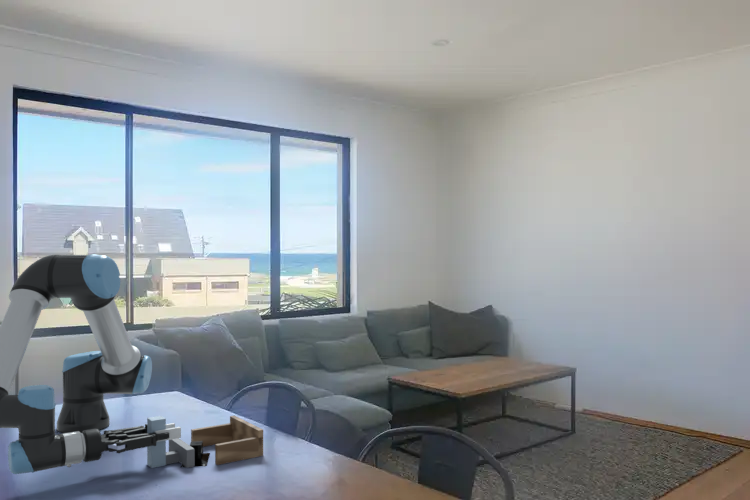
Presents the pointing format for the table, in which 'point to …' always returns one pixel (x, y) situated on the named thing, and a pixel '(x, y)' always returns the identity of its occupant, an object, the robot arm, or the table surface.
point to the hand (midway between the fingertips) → (177, 430)
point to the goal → (231, 440)
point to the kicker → (177, 448)
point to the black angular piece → (199, 454)
